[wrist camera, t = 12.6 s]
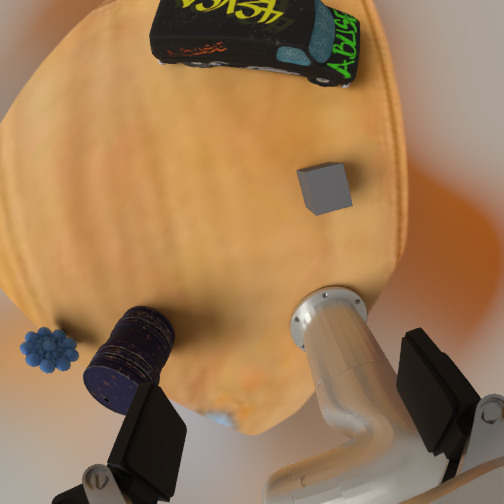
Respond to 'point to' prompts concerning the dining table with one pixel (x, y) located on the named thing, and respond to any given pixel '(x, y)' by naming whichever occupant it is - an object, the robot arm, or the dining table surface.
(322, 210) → the grey block
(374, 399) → the robot arm
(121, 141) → the dining table surface
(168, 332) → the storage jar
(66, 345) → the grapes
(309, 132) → the dining table surface
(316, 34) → the toy van
